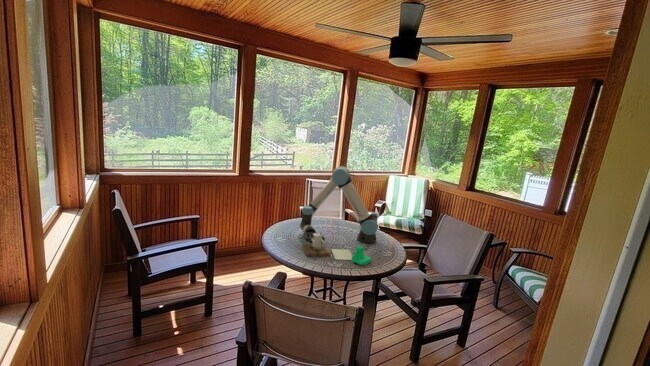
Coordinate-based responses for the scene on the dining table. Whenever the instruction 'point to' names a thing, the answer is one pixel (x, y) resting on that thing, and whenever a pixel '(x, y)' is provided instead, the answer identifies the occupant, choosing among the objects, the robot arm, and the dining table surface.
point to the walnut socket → (310, 253)
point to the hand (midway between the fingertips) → (319, 243)
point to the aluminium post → (316, 242)
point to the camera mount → (360, 256)
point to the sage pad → (342, 254)
